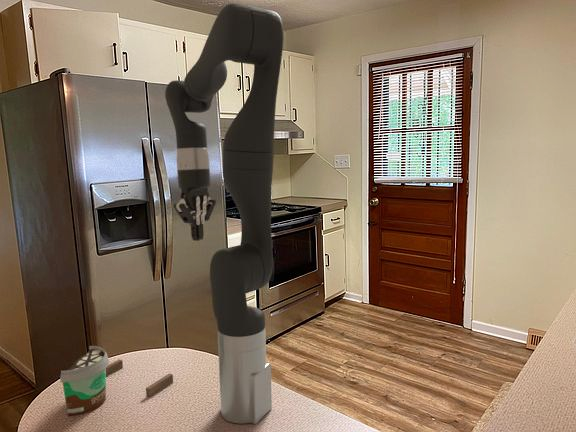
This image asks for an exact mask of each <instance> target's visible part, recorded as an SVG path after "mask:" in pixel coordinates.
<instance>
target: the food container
mask: <svg viewBox="0 0 576 432" xmlns="http://www.w3.org/2000/svg"><path fill="white" fill-rule="evenodd" d="M109 364H110V359H109V356H108V353H107V351H106V350H105V349H104V348H102V347H101V346H96V345H89V347H88V351H87V352H86V354H84V355H83V356H80V358H78V359H76V361H74V362H73V364H72V366H70V367H69V369H67V370H60V381H59V382H60V383H62V386H63V394H64V398H65V399H64V401H65V407H66V411H67V417H69V418H70V417H79V416H83V415H87V414H89V413H92V412H94V411H96V410H97V409H99V408H100V407H102V406H103V404H105V402H106V400H107V399H106V398H107V396H106V395H107V394H106V391H107V386H106V385H107V384H106V383H107V382H106V381H107V377H106V367H107V366H108V365H109Z"/></svg>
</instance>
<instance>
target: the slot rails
mask: <svg viewBox="0 0 576 432" xmlns="http://www.w3.org/2000/svg"><path fill="white" fill-rule="evenodd" d="M122 369H124V365H123V360H122V359H118V360H115V361H114V362H112V363H109V364H108V366H107V367H106V378H107V377H109V376H111V375H112V374H114V373H116V372H119V371H120V370H122ZM173 383H174V375H173V374H172V373H167V374H166V375H164V376H163V377H161V378H159V379H158V380H157V381H155V382H153V383H152V384H150V385H148V386H146V388H145V394H146V395H145V396H146V398H148V399H151V398H152V397H154V396H155V395H157V394H159V393H160V392H162V390H163V391H164V389H166V388H168V387H170V385H173Z"/></svg>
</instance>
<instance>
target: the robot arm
mask: <svg viewBox="0 0 576 432" xmlns="http://www.w3.org/2000/svg"><path fill="white" fill-rule="evenodd" d="M283 49H284V24H283V21H282V18H281V16H280V15H279V14H278V13H277V12H276V11H273V10H270V9H265V8H261V7H257V6H251V5H247V4H241V3H235V2H234V3H228V4H226V5H225V6H223V7H222V9H221V10H220V11H219V13H218V14H217V16H216V18H215V20H214V22H213V25H212V26H211V30H210V31H209V34H208V36H207V38H206V40H205V43H204V45H203V49H202V51H201V53H200V55H199V57H198V59H197V61H196V62H195V64H193V66H191V68H190V69H189V70H188V72H187V73H186V74H185V76H184V77H185V78H184V80H171V81H170V82H169V83H168V84H167V85H166V87H165V91H164V94H165V95H164V96H165V101H166V105H167V107H168V110H169V113H170V116H171V119H172V122H173V126H174V130H175V138H176V171H177V186H178V188H179V189H180V190H181V192H180V197H179V198H180V200H179V201H178V202H177V203H176V202H175V203H174V204H173V208H174V210H175V211H176V213H177V214H178V216H179V217H180V219H181V220H182V221H183V223H184V224H188V225H190V235H191V239H192V241H194V242H195V241H197V242H198V241H203V240H204V224H205V223H206V222H208V221H210V218H211V216H212V213H213V211H214V209H215V205H216V203H217V200H216V199H215V198H214V199H212V198H211V197H210V192H209V187H211V173H210V172H211V171H210V169H211V168H210V157H209V156H210V155H209V151H208V138H207V137H208V136H207V127H206V126H205V124H203V123H201V122H197V121H194V120H191V119H190V118H189V117H188V116H187V114H186V113H199V114H201V113H205V112H207V111H209V110H210V109H211V107H212V103H213V99H214V95H216V94H217V93H218V92H219V91H220V90H221V89H222V88H223V87H224V85H225V84H226V82H227V77H228V68H227V65H226V61H227V62H228V61H232V62H234V63H238V64H247V65H254V66H253V68H254V69H253V76H252V77H253V78H252V81H251V82H252V84H251V88H250V91H249V93H248V96H247V98H246V100H245V101H244V103H243V105H242V107H241V108H240V110H239V112H238V113H237V115H236V116H235V117H234V119H233V120H232V122H231V123H230V125H229V127H228V128H227V131H226V132H225V135H224V138H223V145H222V177H223V182H224V183H225V186H226V188H227V191H228V192H229V194H230V196H231V199H232V200H233V202H234V203H235V206H236V208H237V210H238V214H239V216H240V226H241V234H240V235H241V238H240V244H239V245H234V246H230V247H226V248H221V249H219V250H216V251H215V252H214V254H213V255H212V257H211V260H210V264H209V265H210V266H209V281H210V292H211V300H212V310H213V315H214V318H215V320H216V325H217V344H218V345H217V347H218V348H217V350H218V351H217V352H218V370H219V394H220V412H221V413H220V414H221V417H222V418H223V419H225V420H226V421H227V422H230V423H233V424H254V425H256V424H257V423H259V421H261V420H262V419H263V418H264V417H265V416H266V415H267V414H268V413H269V411H271V409H272V408H273V407H272V405H273V403H272V402H273V401H272V370H271V369H272V366H271V365H272V364H271V363H270V362H267V344H266V343H267V341H266V338H267V337H266V333H267V332H266V314H265V313H264V311H263V310H262V309H260V308H258V307H256V306H251V305H248V303H247V294H248V293H252V292H254V291H257V290H260V289H263V288H264V287H265V286H267V285H268V283H269V282H270V280H271V277H272V275H273V266H274V265H273V264H274V261H273V260H274V258H273V241H272V240H273V239H272V185H273V172H274V153H275V152H274V151H275V125H276V106H277V105H276V104H277V97H278V88H279V87H278V86H279V80H280V72H281V67H282V58H283V57H282V56H283Z"/></svg>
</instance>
